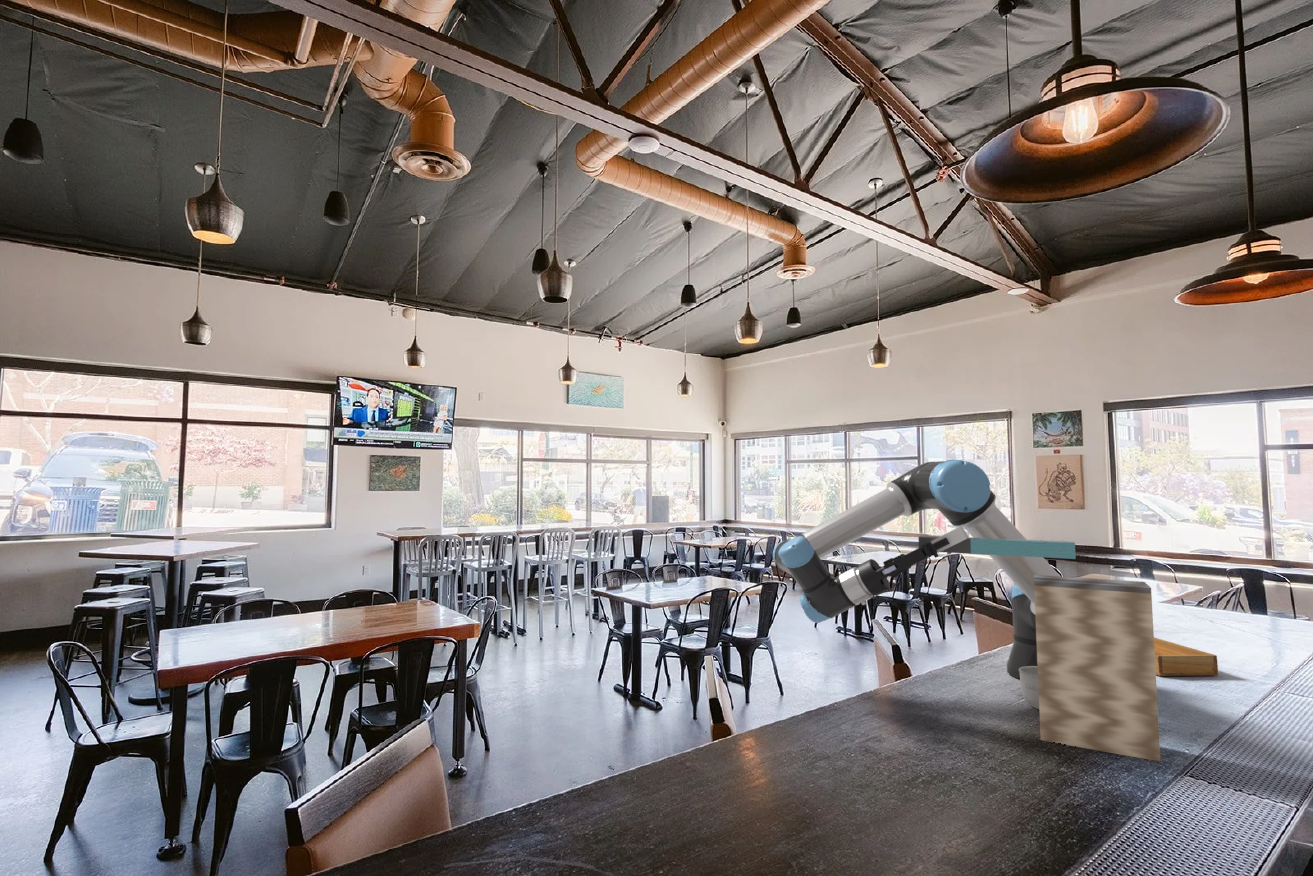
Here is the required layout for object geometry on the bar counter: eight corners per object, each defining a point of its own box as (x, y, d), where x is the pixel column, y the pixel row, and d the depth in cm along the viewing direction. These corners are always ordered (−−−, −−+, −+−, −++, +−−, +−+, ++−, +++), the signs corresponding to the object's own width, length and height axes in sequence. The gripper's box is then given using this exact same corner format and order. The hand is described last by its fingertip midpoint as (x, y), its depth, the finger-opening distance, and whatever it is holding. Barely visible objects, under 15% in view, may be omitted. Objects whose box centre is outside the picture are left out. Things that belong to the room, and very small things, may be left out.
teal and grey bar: (918, 551, 136) (918, 536, 136) (921, 549, 138) (920, 535, 139) (1075, 559, 122) (1074, 543, 122) (1074, 557, 124) (1074, 541, 124)
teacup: (1021, 711, 136) (1019, 673, 136) (1019, 696, 145) (1017, 660, 146) (1099, 723, 129) (1098, 683, 130) (1092, 706, 139) (1090, 669, 139)
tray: (1076, 647, 190) (1075, 627, 190) (1126, 647, 190) (1125, 627, 190) (1159, 679, 159) (1158, 656, 160) (1218, 678, 159) (1217, 655, 160)
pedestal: (1040, 740, 121) (1033, 580, 123) (1040, 726, 128) (1034, 574, 130) (1160, 761, 111) (1151, 588, 114) (1153, 745, 118) (1144, 581, 120)
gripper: (882, 591, 148) (977, 544, 139) (866, 602, 134) (971, 551, 125) (864, 562, 151) (957, 514, 141) (847, 570, 137) (949, 518, 127)
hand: (964, 532), depth 133 cm, fingers closed on teal and grey bar, 3 cm apart
